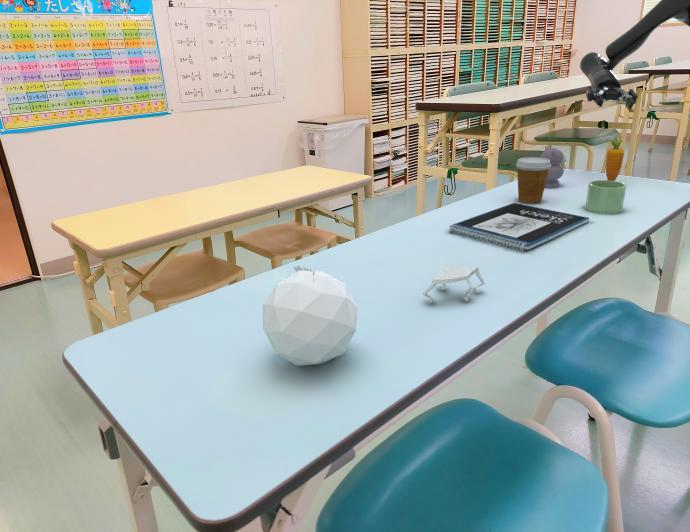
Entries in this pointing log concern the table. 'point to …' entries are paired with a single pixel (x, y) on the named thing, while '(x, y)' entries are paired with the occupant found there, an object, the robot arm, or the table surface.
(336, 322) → the geodesic sphere
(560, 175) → the cat figurine
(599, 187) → the green cup
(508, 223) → the sketchbook
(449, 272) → the white legged piece
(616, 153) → the carrot
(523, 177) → the disposable coffee cup
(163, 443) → the table surface
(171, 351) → the table surface
